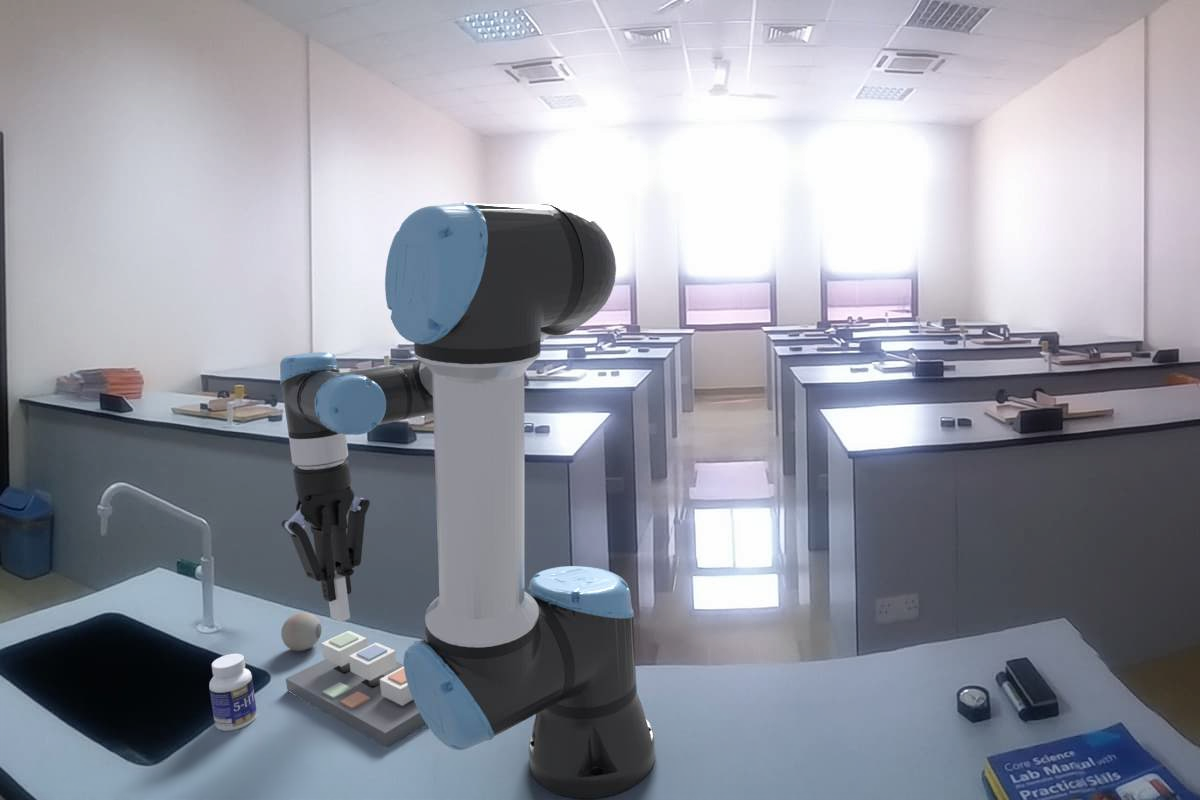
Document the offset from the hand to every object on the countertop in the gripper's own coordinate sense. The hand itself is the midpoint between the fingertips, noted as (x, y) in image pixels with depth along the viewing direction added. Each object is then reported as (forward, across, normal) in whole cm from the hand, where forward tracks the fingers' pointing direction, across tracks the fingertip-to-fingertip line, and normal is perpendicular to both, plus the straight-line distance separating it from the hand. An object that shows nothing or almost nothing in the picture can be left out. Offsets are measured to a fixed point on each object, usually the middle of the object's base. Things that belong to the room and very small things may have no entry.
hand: (340, 617), depth 113 cm
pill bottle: (+10, +15, -4) cm, 18 cm away
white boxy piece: (+8, 0, +7) cm, 11 cm away
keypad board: (+10, +1, +7) cm, 12 cm away
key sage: (+8, 0, 0) cm, 8 cm away
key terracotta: (+9, 0, +14) cm, 17 cm away
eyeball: (+10, -2, -15) cm, 18 cm away
